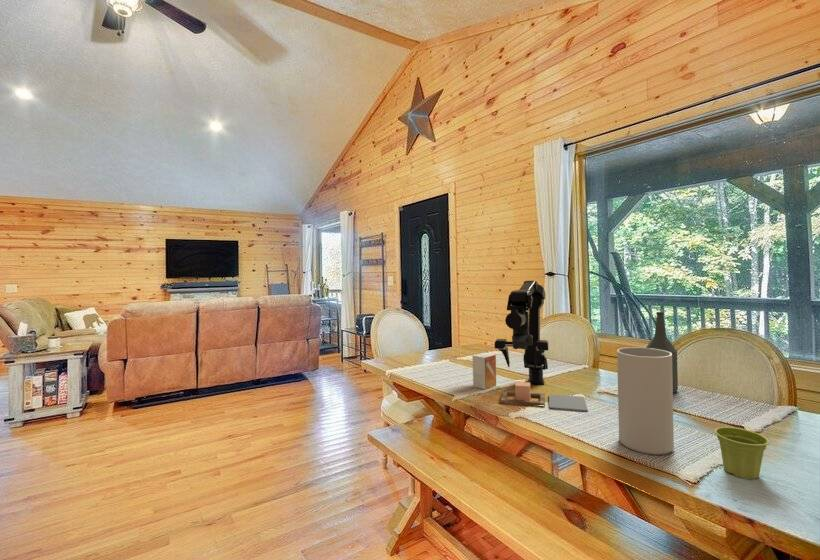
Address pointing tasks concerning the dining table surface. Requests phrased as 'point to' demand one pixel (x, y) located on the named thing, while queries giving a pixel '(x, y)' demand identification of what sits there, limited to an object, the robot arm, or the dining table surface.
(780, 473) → the dining table surface
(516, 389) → the block
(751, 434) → the plant pot
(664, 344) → the bottle
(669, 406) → the cylinder vase
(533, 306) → the robot arm
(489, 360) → the small box
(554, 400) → the mat
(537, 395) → the holder
